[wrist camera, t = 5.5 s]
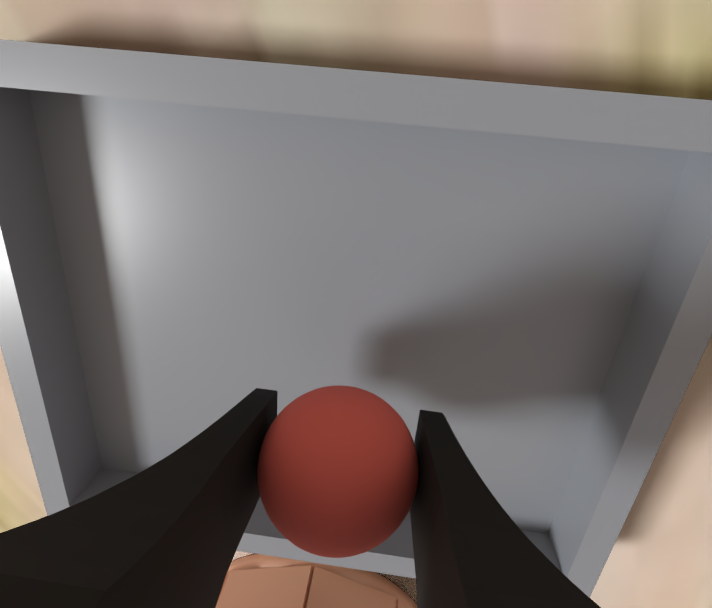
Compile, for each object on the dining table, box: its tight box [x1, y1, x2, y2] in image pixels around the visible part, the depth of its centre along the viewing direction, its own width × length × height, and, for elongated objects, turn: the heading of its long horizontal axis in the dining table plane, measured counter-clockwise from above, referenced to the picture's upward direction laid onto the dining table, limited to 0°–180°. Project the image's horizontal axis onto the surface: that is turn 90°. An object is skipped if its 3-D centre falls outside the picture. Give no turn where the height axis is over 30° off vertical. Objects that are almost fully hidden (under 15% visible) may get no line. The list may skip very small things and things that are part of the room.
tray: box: [0, 40, 712, 598], centre depth 14 cm, size 20×16×2 cm
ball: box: [257, 385, 418, 558], centre depth 11 cm, size 4×4×4 cm
